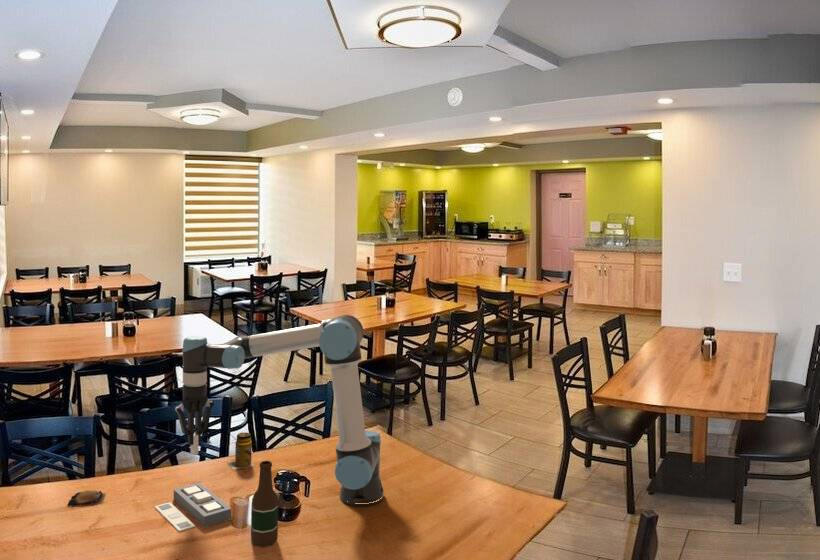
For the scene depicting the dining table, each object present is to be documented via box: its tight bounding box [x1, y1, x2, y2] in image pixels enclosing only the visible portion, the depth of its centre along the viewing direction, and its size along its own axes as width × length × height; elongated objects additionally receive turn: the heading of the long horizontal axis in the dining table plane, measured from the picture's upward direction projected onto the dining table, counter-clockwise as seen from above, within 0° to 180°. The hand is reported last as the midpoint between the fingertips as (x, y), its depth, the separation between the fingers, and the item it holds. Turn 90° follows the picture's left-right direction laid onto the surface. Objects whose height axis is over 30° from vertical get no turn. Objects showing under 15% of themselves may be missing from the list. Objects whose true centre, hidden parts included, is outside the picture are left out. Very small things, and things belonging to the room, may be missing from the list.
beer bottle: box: [250, 460, 279, 548], centre depth 184 cm, size 8×8×24 cm
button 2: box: [202, 502, 222, 513], centre depth 198 cm, size 4×4×2 cm
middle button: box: [192, 491, 211, 504], centre depth 203 cm, size 4×4×2 cm
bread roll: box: [67, 489, 106, 507], centre depth 206 cm, size 11×8×4 cm
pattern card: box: [154, 502, 196, 533], centre depth 197 cm, size 20×5×1 cm, turn 42°
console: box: [173, 482, 233, 528], centre depth 203 cm, size 24×9×4 cm, turn 42°
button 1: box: [183, 486, 202, 496], centre depth 209 cm, size 4×4×2 cm
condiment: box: [227, 432, 256, 470], centre depth 240 cm, size 7×8×12 cm
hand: (194, 453), depth 208 cm, fingers closed
